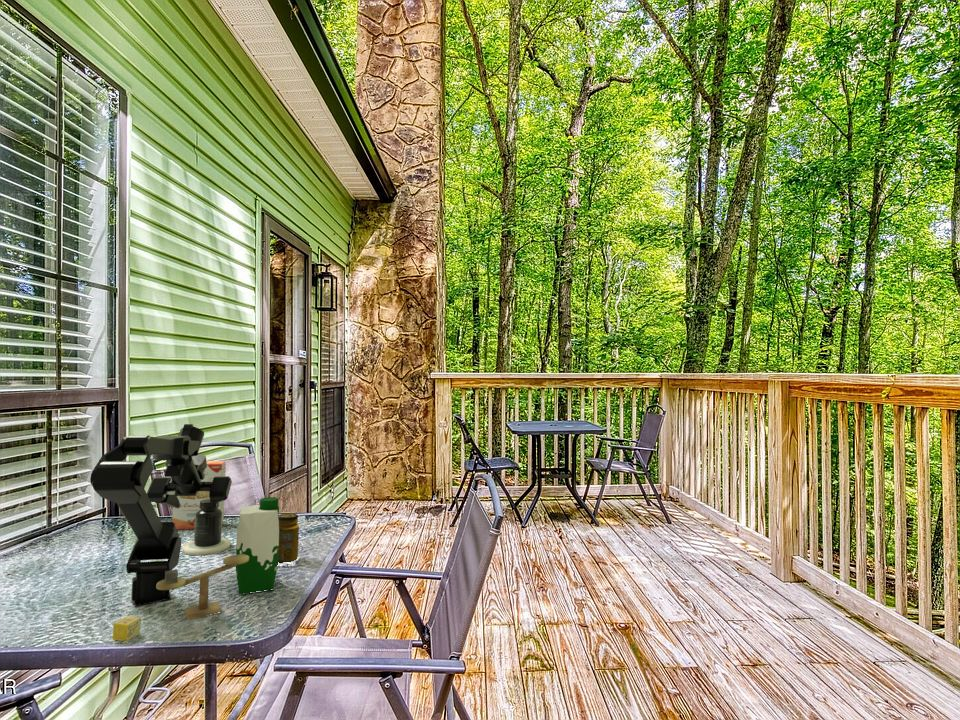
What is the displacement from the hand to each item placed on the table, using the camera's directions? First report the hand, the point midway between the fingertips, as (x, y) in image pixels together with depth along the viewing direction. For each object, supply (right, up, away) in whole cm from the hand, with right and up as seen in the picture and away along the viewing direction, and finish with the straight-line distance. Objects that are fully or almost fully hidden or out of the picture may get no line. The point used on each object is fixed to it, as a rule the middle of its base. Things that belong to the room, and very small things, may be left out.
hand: (197, 506), depth 139 cm
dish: (-1, -14, +7) cm, 16 cm away
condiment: (+24, -14, -3) cm, 28 cm away
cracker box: (-15, -15, +28) cm, 35 cm away
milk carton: (+24, -13, -20) cm, 34 cm away
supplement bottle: (-1, -13, +7) cm, 15 cm away
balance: (+19, -12, -33) cm, 40 cm away
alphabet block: (+10, -12, -43) cm, 46 cm away
